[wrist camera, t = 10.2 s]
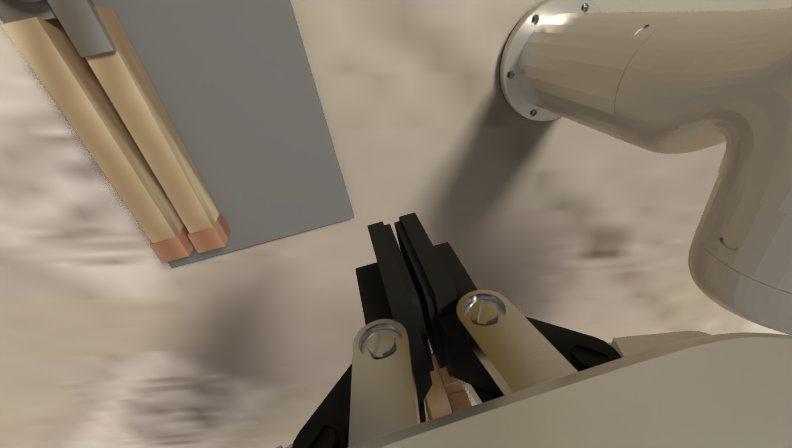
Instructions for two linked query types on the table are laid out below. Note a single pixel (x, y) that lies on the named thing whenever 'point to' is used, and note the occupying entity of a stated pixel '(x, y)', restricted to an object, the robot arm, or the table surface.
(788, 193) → the robot arm
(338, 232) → the table surface
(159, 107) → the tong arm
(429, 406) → the wooden toy
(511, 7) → the table surface
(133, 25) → the mat
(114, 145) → the tongs fixed
